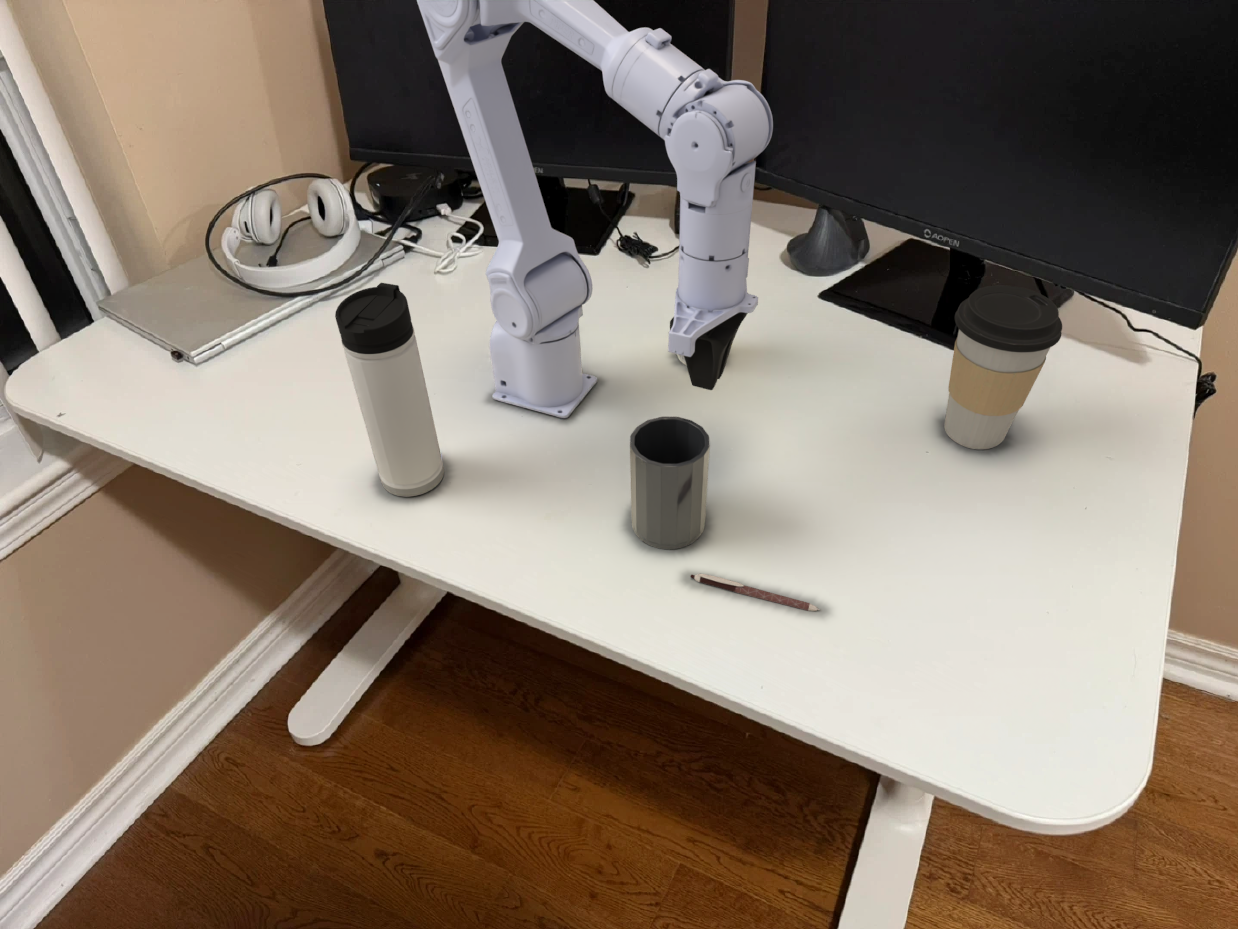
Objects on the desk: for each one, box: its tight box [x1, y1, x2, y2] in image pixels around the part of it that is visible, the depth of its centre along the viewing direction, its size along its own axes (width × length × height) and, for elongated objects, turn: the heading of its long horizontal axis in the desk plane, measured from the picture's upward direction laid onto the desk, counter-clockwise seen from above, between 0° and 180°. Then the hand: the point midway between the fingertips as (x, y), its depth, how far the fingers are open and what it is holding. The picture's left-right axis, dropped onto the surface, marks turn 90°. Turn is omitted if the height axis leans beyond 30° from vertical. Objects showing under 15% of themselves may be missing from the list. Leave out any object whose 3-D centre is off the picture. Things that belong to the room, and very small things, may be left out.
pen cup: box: [629, 416, 711, 550], centre depth 76 cm, size 7×7×10 cm
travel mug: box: [334, 282, 445, 498], centre depth 78 cm, size 6×7×20 cm
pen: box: [690, 573, 821, 612], centre depth 72 cm, size 11×1×1 cm, turn 70°
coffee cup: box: [943, 284, 1063, 450], centre depth 83 cm, size 9×9×15 cm
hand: (706, 380), depth 78 cm, fingers closed
